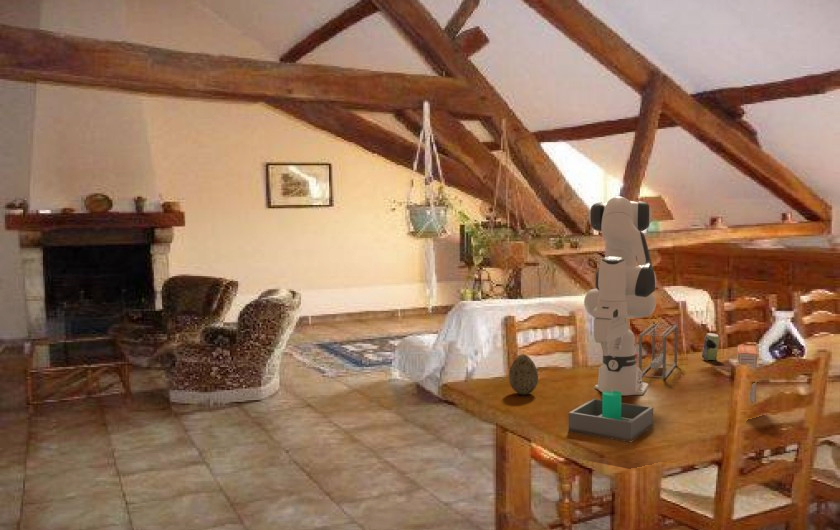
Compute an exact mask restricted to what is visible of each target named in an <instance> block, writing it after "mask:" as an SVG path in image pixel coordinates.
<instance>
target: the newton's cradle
mask: <svg viewBox="0 0 840 530" xmlns="http://www.w3.org/2000/svg"><path fill="white" fill-rule="evenodd" d="M660 327H665V328H662V331H660V334H659V329H660ZM667 327H668V328H667ZM678 330H679V329H678V325H676V324H675V325H664V324H663V325H662V324H661V325H660V324H655V323H652V324H651V325H649V326H648V327H647V328H645V330H643V331H642V332H641V333H640V334H639V337H638V338H639V339H638V367H639V369H640V370H641V371H642V369H643V368H642V367H643V366H642V365H643V364H642V363H643V362H642V361H643V358H642V357H643V336H644V337H645V336H646V337H647V336H649V339H650V341H651V342H650V345H651V350H652V351H651V355H652V356H651V362H650V363H649V364H648V365H647V366H646V368H645V369H643V371H642V377H650V378H651V377H652V378H661V379H664V380H665V379H667V378H668V376H670V374H671V373H672V372H673V371H674V370H675V368H676V366H677V364H678V333H679V331H678ZM672 332H674V354H673V355H674V362H673V363H667V337H668V336H670V335H671V334H672ZM659 337H660V338H661V339H660V340H659ZM656 341H659V342H660V343H659V342H656ZM656 346H658V347H659V348H658V347H656ZM667 365H668V366H671V367H670V368H669V369H668V371H667V372H666V370H667V369H666V366H667ZM661 366H662V376H659V375H646V373H647V372H648V371H649V369H652V370H654V371H657V370H658V369H660V367H661ZM647 370H648V371H647ZM646 371H647V372H646ZM671 371H672V372H671Z"/></svg>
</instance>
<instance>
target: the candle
mask: <svg viewBox="0 0 840 530" xmlns="http://www.w3.org/2000/svg"><path fill="white" fill-rule="evenodd" d="M601 394H602V398H601V400H602V417H605V418H612V419H618V420H621V403H622V395H621V392H619V391H611V392H608V391H604V392H601Z"/></svg>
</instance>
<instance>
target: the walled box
mask: <svg viewBox="0 0 840 530" xmlns="http://www.w3.org/2000/svg"><path fill="white" fill-rule="evenodd" d="M651 426H652V427H653V426H654V407H653V406H646V405H640V404H633V403H627V402H621V420H618V419H612V418H605V417H602V398H601V399H600V398H592V399H591V400H589V401H587V402H585V403H583V404H581V405H580V406H577V407H576V408H574V409H573V410H571V411H569V412H568V432H570V433H576V434H582V435H588V436H592V435H594V436H593V437H598V436H600V437H599V438H604V437H605V438H604V439H609V438H613V439H612V440H615V439H618V440H617V441H620V440H625V441H624V442H626V441H632V440H633V441H635V440H636V439H637V438H639V437H640V436H641V435H643V434H644V433H646V432H647V431H648V430H649V429H651V428H652V427H651ZM650 427H651V428H650ZM647 429H648V430H647ZM646 430H647V431H646ZM643 432H644V433H643ZM642 433H643V434H642ZM640 434H641V435H640ZM639 435H640V436H639ZM638 436H639V437H638ZM606 437H607V438H606ZM636 437H637V438H636ZM635 438H636V439H635ZM634 439H635V440H634ZM633 441H632V442H633Z"/></svg>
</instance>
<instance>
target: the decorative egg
mask: <svg viewBox="0 0 840 530" xmlns="http://www.w3.org/2000/svg"><path fill="white" fill-rule="evenodd" d="M508 382H509V385H510V387H511V388H512V390H513V391H515V393H517V394H519V395H524V396H525V395H529V394H531V393H532V392H533V391H534V390H535V389H536V388H537V385H538V383H539V373H538V370H537V367H536V364H535V363H534V361H533V360H532V358H531V357H530V356H528V355H527V354H525V353H524V354H519V355H518V356H517V357H515V359H514V360H513V361H512V363H511V366H510V368H509V372H508Z"/></svg>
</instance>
